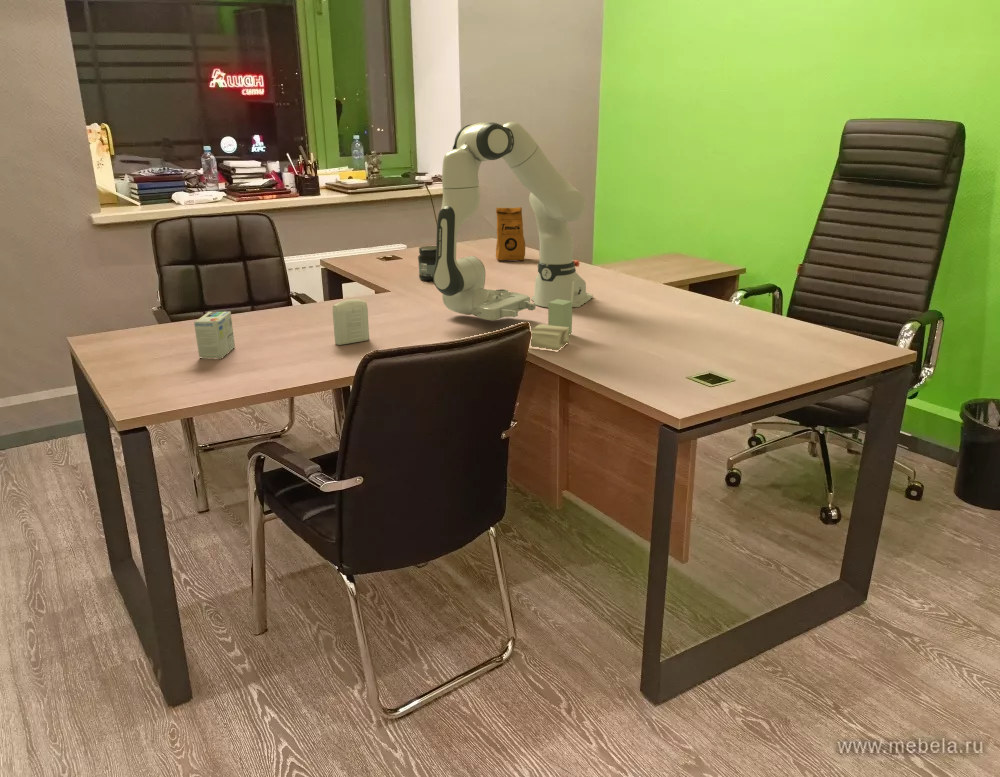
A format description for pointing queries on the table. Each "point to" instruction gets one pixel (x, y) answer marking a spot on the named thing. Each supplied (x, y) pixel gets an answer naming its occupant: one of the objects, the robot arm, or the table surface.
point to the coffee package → (510, 234)
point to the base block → (549, 336)
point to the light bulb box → (214, 334)
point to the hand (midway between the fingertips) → (525, 310)
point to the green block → (560, 313)
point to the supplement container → (427, 262)
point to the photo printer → (350, 321)
